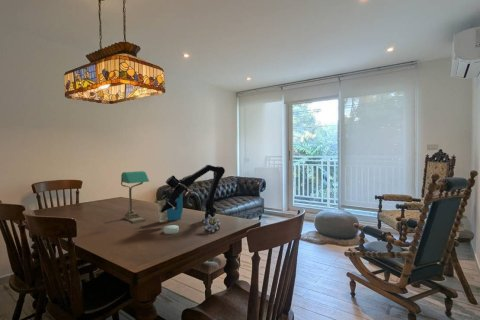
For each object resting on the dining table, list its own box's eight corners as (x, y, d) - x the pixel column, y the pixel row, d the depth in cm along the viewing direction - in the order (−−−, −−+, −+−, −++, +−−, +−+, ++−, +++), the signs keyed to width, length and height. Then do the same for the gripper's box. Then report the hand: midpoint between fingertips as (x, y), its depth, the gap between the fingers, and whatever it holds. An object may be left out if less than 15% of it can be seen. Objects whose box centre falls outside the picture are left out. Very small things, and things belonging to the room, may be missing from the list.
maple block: (165, 219, 179) (165, 200, 178) (167, 221, 175) (166, 201, 174) (158, 220, 177) (158, 200, 176) (160, 222, 173) (159, 202, 172)
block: (167, 221, 191) (166, 193, 190) (165, 219, 195) (164, 192, 194) (183, 218, 197) (182, 191, 196) (180, 217, 201) (180, 190, 200)
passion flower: (213, 240, 165) (204, 228, 159) (204, 233, 173) (195, 221, 167) (226, 228, 169) (218, 215, 163) (216, 221, 178) (209, 209, 172)
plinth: (181, 230, 170) (181, 225, 170) (174, 234, 161) (174, 229, 161) (168, 229, 172) (168, 224, 172) (161, 233, 163) (160, 228, 163)
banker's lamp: (139, 215, 210) (138, 170, 208) (151, 220, 194) (150, 171, 193) (118, 218, 199) (117, 171, 197) (129, 224, 184) (127, 173, 182)
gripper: (164, 183, 185) (148, 201, 180) (171, 186, 168) (153, 206, 164) (176, 193, 189) (160, 211, 184) (184, 197, 172) (167, 217, 168)
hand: (160, 211), depth 175 cm, fingers closed on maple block, 5 cm apart
